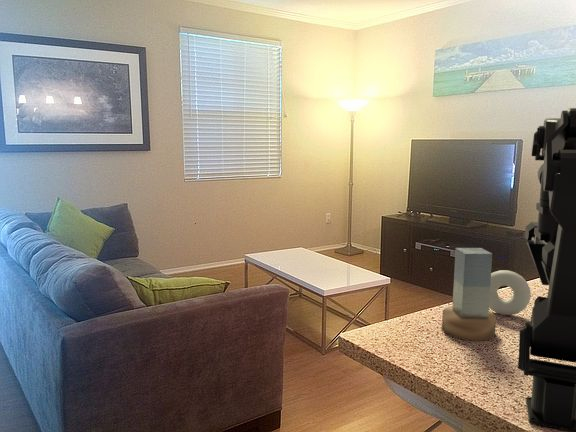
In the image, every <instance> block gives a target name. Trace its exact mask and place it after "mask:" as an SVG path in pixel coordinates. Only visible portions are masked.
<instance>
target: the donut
mask: <svg viewBox="0 0 576 432" xmlns="http://www.w3.org/2000/svg"><path fill="white" fill-rule="evenodd" d="M502 286H503V287H504V286H506V287H509V288H511V290H512V291H513V295H512V297H511V298H509V299H504V298H502V297H501V296H499V294H498V289H499V288H500V287H502ZM531 297H532V294H531V288H530V286H529V284H528V282H527V280H525V278H524V277H523V276H522V275H520V274H519V273H517V272H514V271H512V270H508V269H507V270H506V269H505V270H504V269H503V270H497V271H494V272H491V282H490V298H489V310H490V311H493V312H494V313H496V314H500V315H502V316H512V315H517V314H519V313H522V311H524V310H525V309H526V308H528V307H527V306H528V305H529V304H530V301H531Z"/></svg>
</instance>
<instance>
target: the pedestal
mask: <svg viewBox="0 0 576 432" xmlns="http://www.w3.org/2000/svg"><path fill="white" fill-rule="evenodd" d="M452 307H453V305H451V306H447V307H445V308H443V310H442V318H441V319H442V320H441V321H442V322H441V331H442V332H444V333H445V334H446V335H448V336H451V337H453V338H455V339H456V338H457V339H460V340H465V341H470V342H471V341H473V342H482V341H483V342H484V341H489V340H491V339H492V340H493V339H494V338H495V336H496V325H497V324H496V323H497V317H496V316H497V315H496V314H494V313H493V312H492V311H491V310H489V313H488V319H461V318H460V317H459V316H458V315H457V314H456V313H455V312H454V311H453V310H452Z"/></svg>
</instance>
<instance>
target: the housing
mask: <svg viewBox="0 0 576 432" xmlns="http://www.w3.org/2000/svg"><path fill="white" fill-rule="evenodd" d="M454 254H455V256H454V273H453V287H452V288H453V291H452V306H453V307H452V310H453V311H454V312H455V313H456V314H457V315H458V316H459V317H460V318H461V319H488V313H489V311H490V308H489V298H490V282H491V273H492V266H493V265H492V263H493V252H490V251H488V250H486V249H484V248H483V247H455V252H454Z"/></svg>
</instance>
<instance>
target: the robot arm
mask: <svg viewBox="0 0 576 432" xmlns="http://www.w3.org/2000/svg"><path fill="white" fill-rule="evenodd" d="M536 130H537V131H535V132H534V133H533V140H532V147H531V157H534V161H543V163H542V164H541V165H540V167H539V168H538V171H537V179H538V182H539V184H540V192H539V202H537V203H536V205H535V210H536V211H538V216H537V221H536V222H535V221H532V222H530V223H529V224H527V225H526V226H525V228H524V238H525V240H526V244H527V247H528V249H529V252H530V255H531V258H532V261H533V263H534V266H535V268H536V272H537V275H538V276H539V279H540V282H541V285H543V286H548V291H547V297H546V296H537V297H536V298H535V299H534V303H533V304H534V305H533V307H532V310H531V314H530V316H531V317H530V321H527V320H526V321H525V324H524V326H523V328H522V329H520V330H519V336H518V337H519V341H518V342H519V343H518V359H517V360H518V361H517V369H519V370H520V371H522V372H523V375H524V376H525V377H526V376H527V377H529V376H530V377H533V378H532V386H531V387H532V389H531V396H526V398H525V403H526V409H527V410H526V411H527V416H528V417H527V418H528V422H530V423H531V424H533V425H539V426H544V427H548V428H554V429H558V430H564V431H568V432H576V365H572V364H565V363H559V362H554V361H547V360H540V359H536V358H530V357H531V356H532V357H539V358H544V359H551V360H557V361H563V362H568V363H569V362H570V363H576V107H571V108H570V107H569V108H567V110H561V113H560V118H559V117H558V118H553V117H552V118H545V119H544V121H543V125H539V126H538V127H537V129H536ZM530 355H531V356H530Z"/></svg>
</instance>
